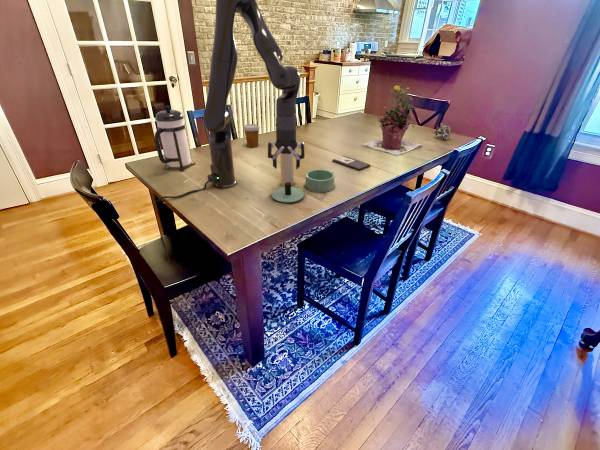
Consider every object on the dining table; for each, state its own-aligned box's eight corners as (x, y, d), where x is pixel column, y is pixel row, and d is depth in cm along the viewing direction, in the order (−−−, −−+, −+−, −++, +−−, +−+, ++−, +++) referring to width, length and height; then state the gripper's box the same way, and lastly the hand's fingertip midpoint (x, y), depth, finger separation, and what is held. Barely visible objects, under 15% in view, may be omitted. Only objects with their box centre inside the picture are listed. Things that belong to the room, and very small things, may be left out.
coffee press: (161, 164, 160) (146, 103, 144) (193, 159, 165) (182, 101, 150) (163, 175, 147) (146, 110, 131) (197, 171, 152) (185, 107, 136)
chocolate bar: (359, 168, 152) (332, 159, 163) (359, 170, 153) (332, 161, 164) (370, 164, 157) (343, 155, 169) (370, 166, 158) (343, 157, 169)
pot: (305, 192, 132) (305, 180, 129) (305, 180, 142) (305, 169, 140) (334, 192, 132) (335, 180, 129) (332, 180, 142) (333, 169, 139)
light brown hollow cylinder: (287, 187, 136) (286, 147, 126) (278, 184, 139) (277, 145, 129) (295, 183, 139) (295, 145, 130) (287, 180, 142) (286, 142, 133)
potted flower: (396, 155, 172) (408, 88, 153) (362, 145, 188) (369, 83, 169) (421, 146, 187) (435, 83, 168) (387, 137, 203) (396, 79, 184)
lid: (270, 203, 123) (269, 190, 120) (273, 189, 134) (272, 176, 131) (304, 203, 123) (304, 190, 120) (304, 189, 134) (304, 176, 131)
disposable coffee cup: (263, 145, 187) (262, 125, 181) (251, 149, 181) (250, 128, 175) (253, 142, 193) (252, 123, 186) (241, 145, 187) (239, 125, 180)
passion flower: (443, 148, 201) (446, 136, 190) (428, 142, 206) (430, 130, 195) (452, 135, 203) (456, 123, 192) (436, 130, 208) (439, 117, 197)
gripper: (305, 124, 116) (304, 165, 125) (267, 123, 116) (269, 164, 125) (305, 129, 110) (304, 172, 118) (265, 129, 110) (267, 171, 118)
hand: (286, 168), depth 121 cm, fingers open, 8 cm apart
